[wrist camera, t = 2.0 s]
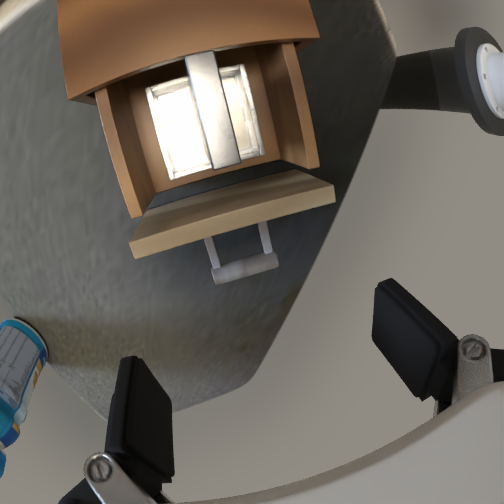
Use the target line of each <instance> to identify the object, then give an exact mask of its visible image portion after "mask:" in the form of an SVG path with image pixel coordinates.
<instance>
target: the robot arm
mask: <svg viewBox="0 0 504 504" xmlns="http://www.w3.org/2000/svg"><path fill="white" fill-rule="evenodd" d="M476 65H477V73H478V78H479V82H480V86H481V89H482V93H483V95H484V98H485V100H486V102H487V104H488V106H489V108H490V110H491V111H492V112H493V114H494V115H495V116H496V117H498V118H500V119H504V53H500V52H499V50H498V49H497V48H496V47H495V46H493V45H492V44H488V43H487V44H481V45H480V46H479V48H478V50H477V55H476ZM373 313H374V314H373V325H372V339H373V342H374V343H375V345H376V346H377V347H378V349H379V350H380V351H381V352H382V354H383V355H384V356H385V358H386V359H387V360H388V362H389V363H390V364H391V366H392V367H393V368H394V370H395V371H396V372H397V374H398V375H399V376H400V378H401V379H402V380H403V382H404V383H405V384H406V386H407V387H408V388H409V390H410V391H411V392H412V394H413V395H414V396H415V397H419V398H420V399H421V401H424V400H425V399H427V398H428V397H430V396H432V397H434V399H435V406H434V414H433V418H432V419H431V420H429V421H427V422H426V423H424V424H422V425H421V426H419V427H418V428H416V429H414V430H413V431H411V432H409V433H408V434H406V435H404V436H402V437H401V438H399V439H397V440H395V441H393V442H391V443H389V444H388V445H386V446H384V447H382V448H380V449H378V450H376V451H374V452H372V453H370V454H368V455H365V456H363V457H361V458H359V459H356V460H354V461H352V462H350V463H348V464H345V465H342V466H340V467H337V468H335V469H332V470H330V471H327V472H324V473H321V474H319V475H316V476H313V477H310V478H307V479H304V480H301V481H297V482H294V483H290V484H287V485H284V486H280V487H276V488H272V489H268V490H264V491H259V492H255V493H250V494H245V495H239V496H234V497H228V498H221V499H213V500H206V501H196V502H185V503H175V502H173V501H172V500H171V499H170V498H169V497H168V496H167V495H166V494H165V493H164V492H163V491H162V483H172V479H171V477H173V476H174V474H175V471H174V457H173V456H174V454H173V433H172V403H171V400H170V398H169V396H168V395H167V393H166V392H165V391H164V389H163V388H162V387H161V385H160V384H159V383H158V381H157V380H156V378H155V377H154V376H153V374H152V373H151V371H150V370H149V368H148V367H147V365H146V364H145V362H144V361H143V360H142V359H141V358H139V359H138V357H137V356H130V357H125V358H122V359H121V361H120V366H119V371H118V376H117V381H116V386H115V392H114V394H113V396H112V400H111V406H110V412H109V419H108V426H107V434H106V442H105V451H104V453H101V452H98V453H94V454H93V455H91V456H90V457H89V458H88V459H87V460H86V462H85V464H84V476H85V478H84V479H83V480H82V481H81V482H80V483H79V484H78V485H76V486H75V487H74V488H73V489H72V490H71V491H70V492H68V493H67V494H66V495H65V496H64V497H63V498H62V499H61V500H60V501H59V503H58V504H504V350H502V349H491V348H490V347H489V344H488V342H487V341H486V340H485V339H484V338H483V337H480V336H478V335H474V334H471V335H466V336H464V337H463V338H462V339H460V340H458V338H457V337H456V336H455V335H454V334H453V333H452V332H451V331H450V330H449V329H448V328H447V327H446V326H445V325H444V324H443V323H442V322H441V321H440V320H439V319H438V318H436V317H435V316H434V315H433V314H432V313H431V312H430V311H429V310H428V309H427V308H426V307H425V306H423V305H422V304H421V303H420V302H419V301H418V300H417V299H416V298H415V297H413V296H412V295H411V294H410V293H409V292H408V291H407V290H405V289H404V288H403V287H402V286H401V285H400V284H399V283H397V282H396V281H395V280H394V279H392V278H389V279H387V280H384V281H382V282H379V283H378V286H377V287H376V288H375V295H374V312H373Z"/></svg>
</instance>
